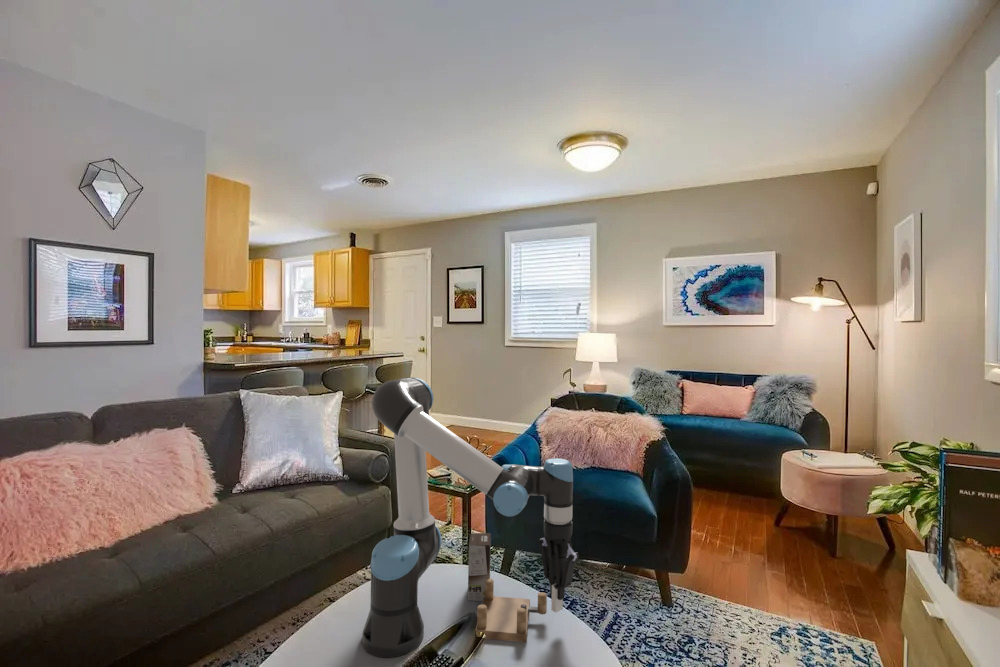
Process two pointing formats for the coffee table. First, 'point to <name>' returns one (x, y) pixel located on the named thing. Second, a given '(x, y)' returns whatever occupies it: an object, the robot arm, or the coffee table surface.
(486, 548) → the coffee box
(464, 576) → the coffee table surface
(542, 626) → the coffee table surface
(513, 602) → the wooden peg stand
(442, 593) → the coffee table surface
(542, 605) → the rounded tan peg
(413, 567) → the robot arm
